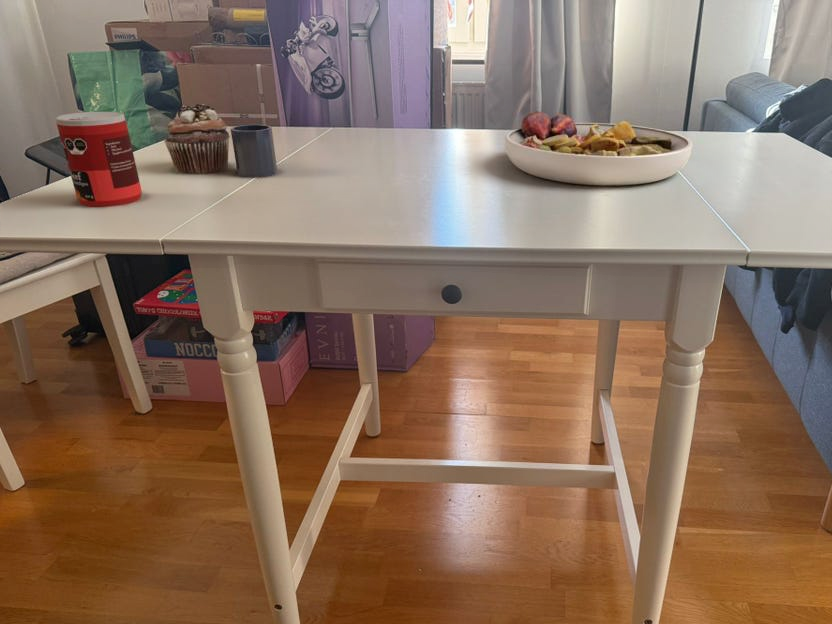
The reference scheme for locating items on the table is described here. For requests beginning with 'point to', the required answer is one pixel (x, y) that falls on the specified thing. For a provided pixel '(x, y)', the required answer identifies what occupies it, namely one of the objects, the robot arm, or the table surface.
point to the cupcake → (198, 140)
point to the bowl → (595, 151)
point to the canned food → (100, 158)
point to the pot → (254, 150)
